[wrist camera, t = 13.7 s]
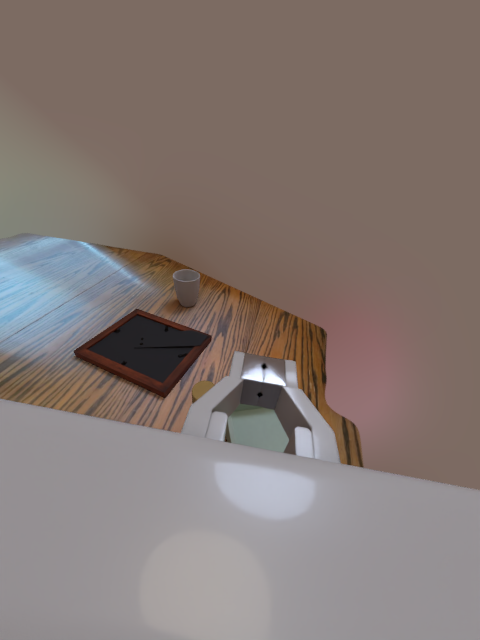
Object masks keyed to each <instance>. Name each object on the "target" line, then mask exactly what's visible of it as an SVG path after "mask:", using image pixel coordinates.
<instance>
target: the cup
mask: <svg viewBox="0 0 480 640" xmlns="http://www.w3.org/2000/svg"><path fill="white" fill-rule="evenodd" d="M173 280H174V286H175V291H176V294H177V298H178V300H179V302H180V304H181V305H182V306H184V307H191V306H193V305H195V303H196V300H197V297H198V292H199V285H200V274H199V273H198V272H196V271H193V270H179V271H177V272H175V273H174V274H173Z"/></svg>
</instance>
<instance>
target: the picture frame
mask: <svg viewBox="0 0 480 640" xmlns="http://www.w3.org/2000/svg"><path fill="white" fill-rule="evenodd" d="M211 338H212V336H211V335H208V334H205V333H203V332H200V331H197V330H194V329H192V328H189V327H186V326H183V325H180V324H178V323H175V322H172V321H169V320H167V319H164V318H161V317H158V316H155V315H153V314H150V313H147V312H144V311H142V310H139V309H136V310H134V311H133V312H131V313H130V314H128V315H127V316H125V317H124V318H122V319H121V320H119V321H118V322H116V323H115V324H113V325H112V326H110V327H109V328H107V329H106V330H104V331H103V332H101V333H100V334H98V335H97V336H95V337H94V338H92V339H91V340H89V341H88V342H86V343H85V344H83V345H82V346H80V347H79V348H77V349H76V350H74V353H75V355H76V357H79V358H81V359H83V360H85V361H87V362H89V363H91V364H94V365H96V366H98V367H100V368H102V369H104V370H107V371H109V372H111V373H113V374H115V375H117V376H119V377H122V378H124V379H126V380H128V381H130V382H132V383H135V384H137V385H139V386H141V387H143V388H145V389H147V390H150V391H152V392H154V393H156V394H158V395H160V396H163V397H165V398H166V396H167V395H168V394H169V393H170V391H171V390H172V389H173V388H174V386H175V385H176V384H177V383H178V381H179V380H180V379H181V378H182V376H183V375H184V374H185V373H186V371H187V370H188V369H189V368H190V366H191V365H192V364H193V363H194V361H195V360H196V359H197V358H198V357H199V355H200V354H201V353H202V352H203V350H204V349H205V348H206V347H207V345H208V344H209V343H210V342H211Z"/></svg>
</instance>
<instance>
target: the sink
mask: <svg viewBox="0 0 480 640" xmlns="http://www.w3.org/2000/svg"><path fill="white" fill-rule="evenodd" d="M226 439H227V442H229V443H234V444H240V445H245V446H250V447H255V448H261V449H266V450H271V451H277V452H282V453H283V452H284V450H285V448H286V446H287V444H288V442H289V438H288V436H287V434H286V432H285V431H284V429H283V427H282V425H281V423H280V421H279V419H278V417H277V415H276V413H275V411H274V410H273V409H268V408H263V407H258V406H252V405H246V404H240V405H239V406H238V407H237V408H236V409H235V411H234V412H233V413H232V414H231V415H230V416H229V418H228V419H227V427H226Z"/></svg>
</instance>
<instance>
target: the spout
mask: <svg viewBox="0 0 480 640" xmlns="http://www.w3.org/2000/svg"><path fill="white" fill-rule="evenodd" d="M213 386H215V385H214V384H213V383H212V382H210V381H200V382H198V383H196V384H195V385H194V387H193V389H192V404H193V403H194V402H196V401H197V400H198V399H199V398H200V397H201V396H203V395H204V394H205V393H206V392H207V391H209V390H210V389H211V388H212V387H213Z"/></svg>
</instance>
